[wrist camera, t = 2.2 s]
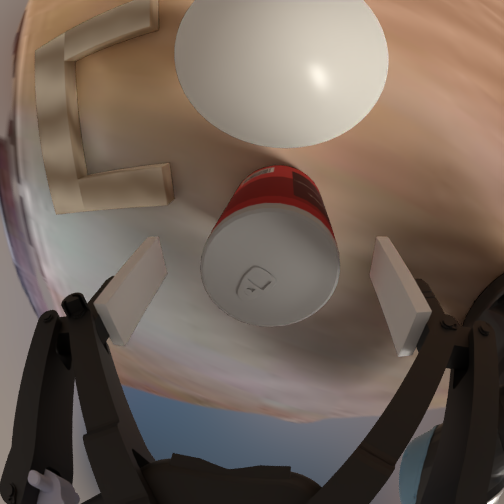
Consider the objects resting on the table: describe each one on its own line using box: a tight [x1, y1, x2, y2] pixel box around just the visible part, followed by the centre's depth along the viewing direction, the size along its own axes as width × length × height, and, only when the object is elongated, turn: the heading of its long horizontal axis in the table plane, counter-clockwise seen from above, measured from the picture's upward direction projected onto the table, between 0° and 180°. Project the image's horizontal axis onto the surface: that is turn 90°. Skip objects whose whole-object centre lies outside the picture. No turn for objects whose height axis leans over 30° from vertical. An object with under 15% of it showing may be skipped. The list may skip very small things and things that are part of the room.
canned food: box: [200, 165, 340, 327], centre depth 20 cm, size 8×8×11 cm
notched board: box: [35, 0, 175, 215], centre depth 21 cm, size 20×15×2 cm
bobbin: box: [174, 0, 388, 148], centre depth 13 cm, size 10×10×13 cm
